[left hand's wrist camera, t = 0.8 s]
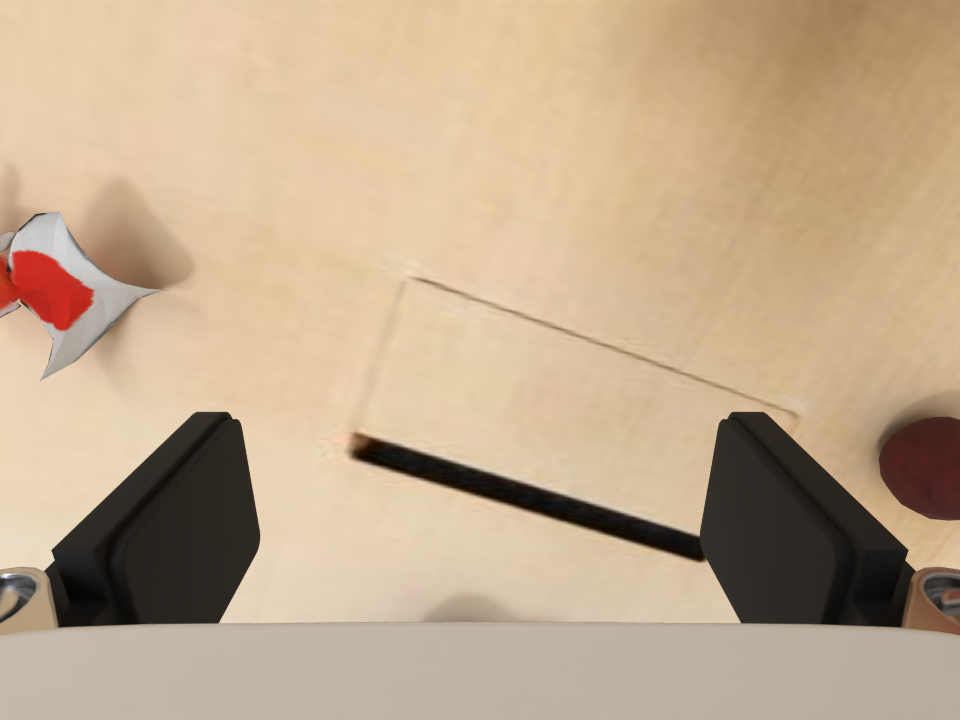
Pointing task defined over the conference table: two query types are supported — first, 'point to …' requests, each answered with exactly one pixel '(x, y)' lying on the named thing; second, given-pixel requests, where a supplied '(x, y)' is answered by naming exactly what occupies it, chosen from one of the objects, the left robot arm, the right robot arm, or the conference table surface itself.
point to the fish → (61, 288)
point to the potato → (925, 467)
